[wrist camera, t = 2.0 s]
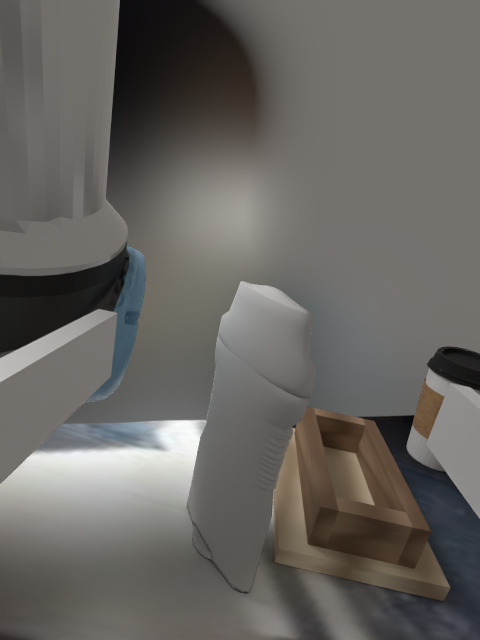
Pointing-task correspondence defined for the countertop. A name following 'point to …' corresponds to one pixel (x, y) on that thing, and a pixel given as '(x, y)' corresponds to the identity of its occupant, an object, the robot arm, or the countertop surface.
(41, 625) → the countertop surface
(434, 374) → the coffee cup
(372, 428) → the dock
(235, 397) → the tall pale column
